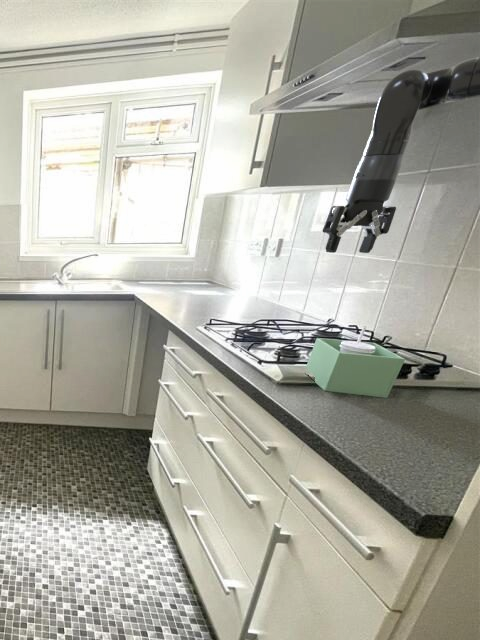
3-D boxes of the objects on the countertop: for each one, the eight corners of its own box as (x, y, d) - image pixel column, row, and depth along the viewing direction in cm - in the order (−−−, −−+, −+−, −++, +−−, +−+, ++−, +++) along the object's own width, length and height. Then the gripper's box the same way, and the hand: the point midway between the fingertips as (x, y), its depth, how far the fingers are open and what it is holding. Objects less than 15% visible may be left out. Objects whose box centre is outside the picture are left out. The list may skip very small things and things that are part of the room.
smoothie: (356, 380, 104) (379, 325, 98) (362, 389, 99) (387, 332, 93) (324, 375, 107) (345, 321, 101) (328, 383, 102) (350, 328, 96)
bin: (359, 378, 106) (374, 342, 103) (387, 398, 96) (405, 359, 92) (303, 372, 110) (316, 337, 106) (324, 390, 99) (339, 353, 95)
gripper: (359, 177, 91) (332, 254, 98) (420, 178, 92) (390, 254, 98) (330, 179, 98) (307, 250, 104) (388, 179, 99) (361, 251, 105)
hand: (347, 252), depth 101 cm, fingers open, 8 cm apart
